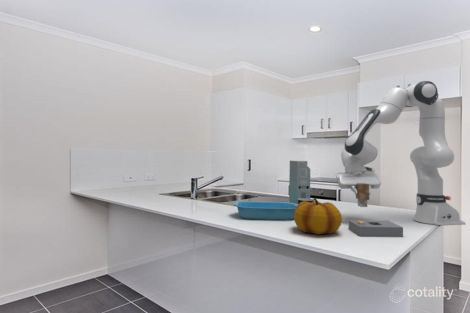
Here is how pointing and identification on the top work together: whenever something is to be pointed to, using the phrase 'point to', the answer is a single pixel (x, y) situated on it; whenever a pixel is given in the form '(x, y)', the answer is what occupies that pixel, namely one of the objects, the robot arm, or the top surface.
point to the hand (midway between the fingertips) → (363, 194)
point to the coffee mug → (305, 200)
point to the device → (299, 181)
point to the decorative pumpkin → (317, 217)
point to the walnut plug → (362, 194)
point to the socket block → (375, 228)
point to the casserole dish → (266, 210)
